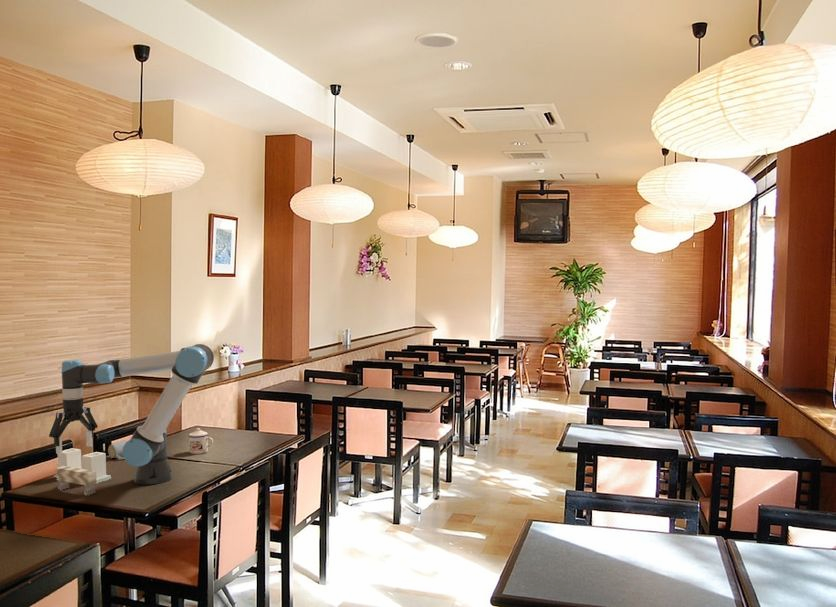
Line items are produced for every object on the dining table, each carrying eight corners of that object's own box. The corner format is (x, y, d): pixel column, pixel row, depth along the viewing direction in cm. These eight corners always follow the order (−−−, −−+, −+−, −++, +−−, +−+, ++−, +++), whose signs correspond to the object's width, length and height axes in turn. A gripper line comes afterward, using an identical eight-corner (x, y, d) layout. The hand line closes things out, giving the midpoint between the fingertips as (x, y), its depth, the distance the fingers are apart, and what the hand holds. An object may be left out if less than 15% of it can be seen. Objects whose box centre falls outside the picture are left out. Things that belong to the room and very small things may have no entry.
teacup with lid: (186, 454, 340) (185, 430, 340) (193, 449, 350) (193, 426, 349) (209, 454, 339) (208, 430, 339) (216, 449, 348) (216, 426, 348)
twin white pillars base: (111, 479, 300) (110, 452, 300) (90, 485, 291) (89, 458, 291) (74, 472, 311) (73, 447, 311) (53, 478, 302) (52, 452, 302)
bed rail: (96, 493, 280) (96, 471, 280) (89, 495, 277) (88, 473, 277) (64, 487, 289) (63, 465, 289) (56, 489, 286) (56, 468, 286)
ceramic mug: (107, 458, 336) (106, 442, 336) (123, 454, 342) (123, 439, 342) (118, 461, 329) (117, 445, 329) (134, 458, 336) (134, 442, 335)
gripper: (93, 392, 295) (95, 442, 295) (37, 402, 272) (39, 456, 273) (105, 394, 291) (107, 444, 292) (50, 404, 269) (52, 458, 270)
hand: (74, 450), depth 283 cm, fingers open, 13 cm apart
